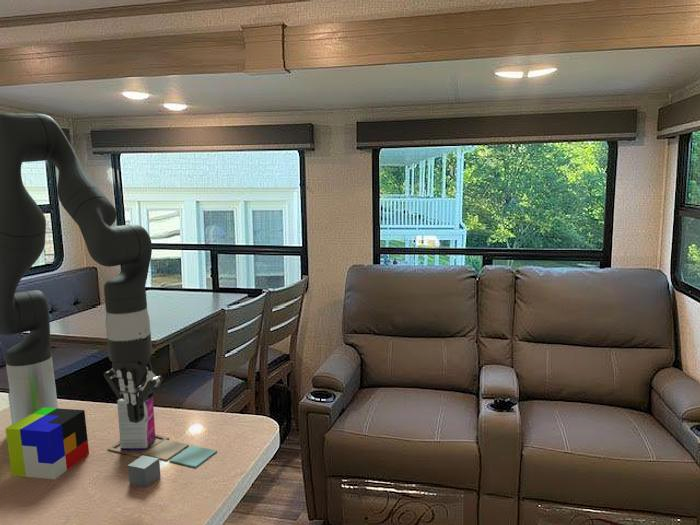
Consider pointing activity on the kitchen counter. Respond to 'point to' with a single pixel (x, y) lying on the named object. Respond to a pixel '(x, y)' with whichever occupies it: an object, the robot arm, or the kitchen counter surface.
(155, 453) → the track
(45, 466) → the puzzle toy
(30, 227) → the robot arm
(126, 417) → the supplement box
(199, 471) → the kitchen counter surface
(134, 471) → the cube
